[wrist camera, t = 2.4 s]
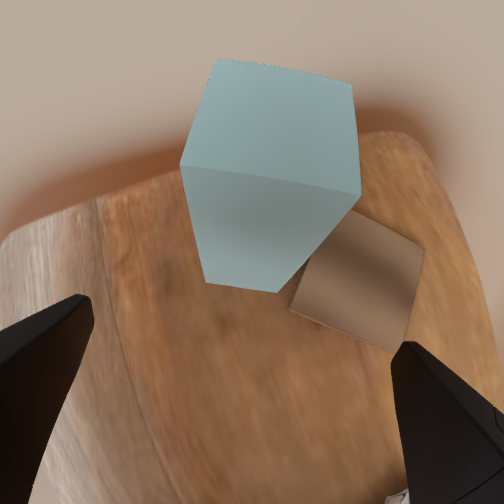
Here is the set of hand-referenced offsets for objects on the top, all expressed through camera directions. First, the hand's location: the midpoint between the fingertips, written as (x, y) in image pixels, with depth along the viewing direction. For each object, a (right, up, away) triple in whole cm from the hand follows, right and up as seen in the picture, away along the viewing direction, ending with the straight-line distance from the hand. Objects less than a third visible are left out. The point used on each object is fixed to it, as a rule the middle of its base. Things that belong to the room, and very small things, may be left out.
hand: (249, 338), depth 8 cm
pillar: (0, +2, +14) cm, 14 cm away
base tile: (+8, 0, +15) cm, 17 cm away
